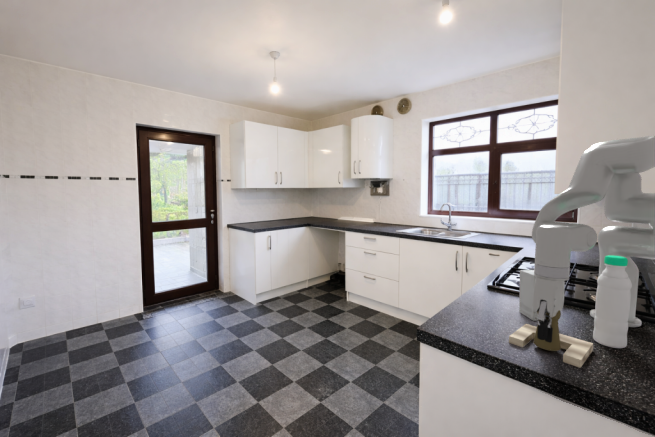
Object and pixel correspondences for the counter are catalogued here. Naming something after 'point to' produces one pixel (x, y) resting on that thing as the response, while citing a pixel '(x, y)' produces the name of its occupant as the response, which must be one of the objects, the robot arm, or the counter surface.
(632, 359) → the counter surface
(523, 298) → the skincare box
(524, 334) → the wooden u-shaped block
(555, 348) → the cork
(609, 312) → the water bottle
